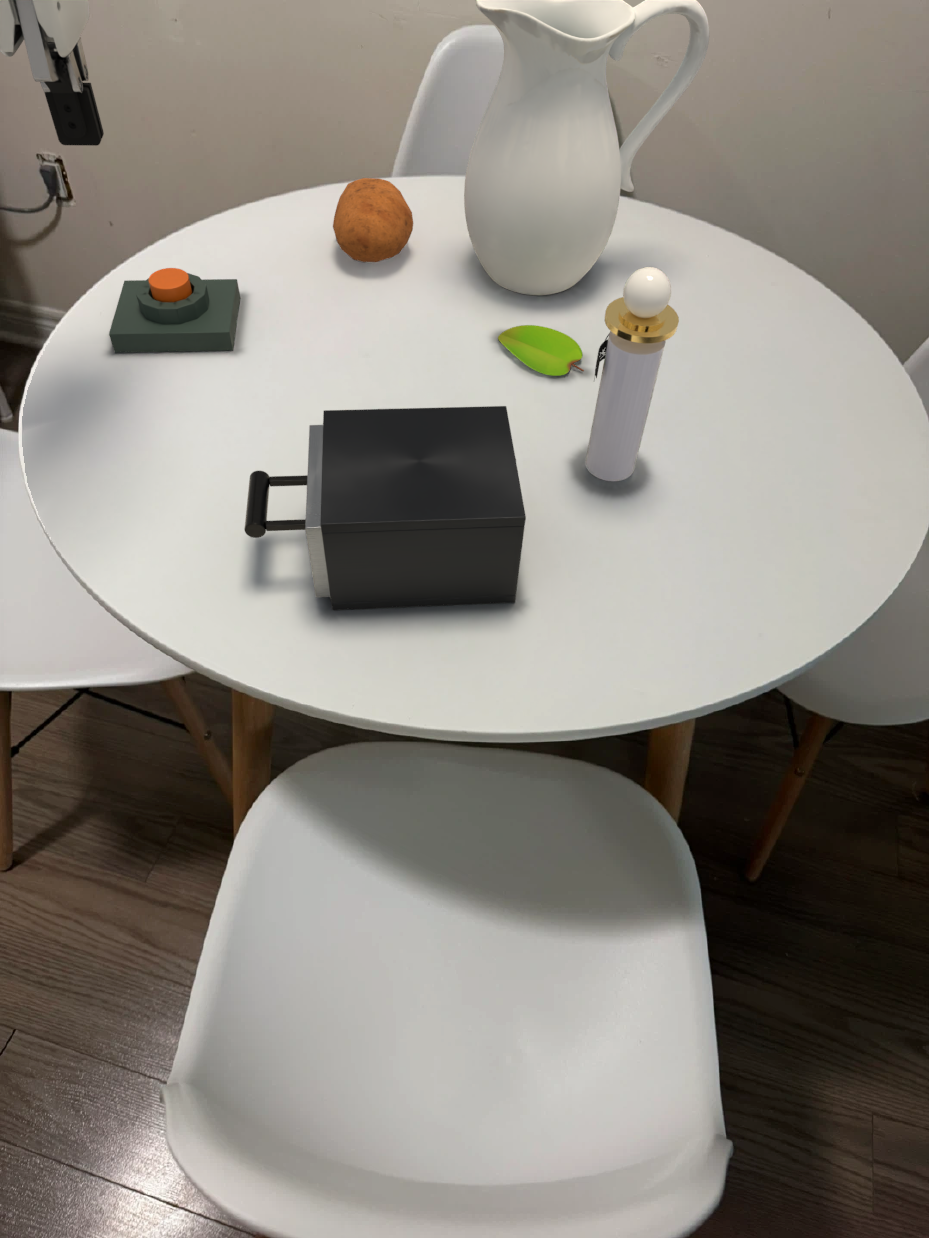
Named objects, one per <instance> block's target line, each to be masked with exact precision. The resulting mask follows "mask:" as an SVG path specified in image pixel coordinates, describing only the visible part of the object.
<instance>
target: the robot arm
mask: <svg viewBox="0 0 929 1238" xmlns="http://www.w3.org/2000/svg"><path fill="white" fill-rule="evenodd" d="M90 15H91V8H90V0H0V53H1V54H2V55H3V56H5V57H13V56H15V54H16V53H17V51H19V48H20V47H21V45H22V44H23V42H24V44H25V49H26V54H27V58H28V62H29V66H30V71H31V74H32V78H33V80H34V81H35V82H36V83H37V82H38V83H39V84H40V86H41V89H42V91H43V93H44V96H45V100H46V103H47V106H48V109H49V113H50V115H51V119H52V124H53V126H54V129H55V133H56V137H57V139H58V142H59V143H60V145H62V146H90V147H91V146H93V147H94V146H95V147H97V146H99V145H100V144H101V142H102V139H103V137H104V128H103V124H102V120H101V117H100V116H101V115H100V114H99V109H98V106H97V101H96V97H95V94H94V89H93V86H92V83H91V82H89V80H90V75H89V70H88V69H89V68H88V65H87V61H86V56H85V51H84V47H83V42H82V37H81V36H82V34H83V33H84V31H85V29H86V26H87V24H88V23H89V20H90Z"/></svg>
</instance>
